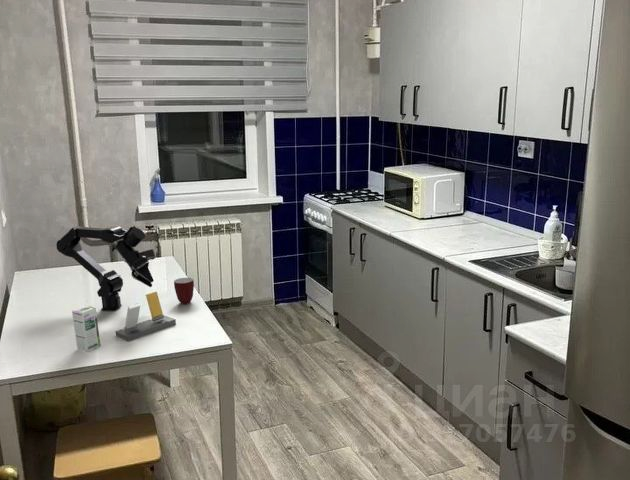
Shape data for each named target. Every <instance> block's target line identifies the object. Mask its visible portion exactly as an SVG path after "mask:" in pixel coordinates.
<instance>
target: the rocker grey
mask: <svg viewBox="0 0 630 480" xmlns="http://www.w3.org/2000/svg"><path fill="white" fill-rule="evenodd" d="M126 310H127V312H126V316H125V317H126V318H125V324H124V325H125V326H124V330H125V331H129V330H131V329H134V328H137V324H138V323H139V321H138V320H139V316H140V310H141V305H140V304H139V303H134V304H131V305H128V306H127V309H126Z"/></svg>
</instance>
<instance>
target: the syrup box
mask: <svg viewBox="0 0 630 480" xmlns="http://www.w3.org/2000/svg"><path fill="white" fill-rule="evenodd" d="M71 314H72V323H73V327H74V335H75V341H76V342H75V343H76V348H77V350H80V351H84V352H89V351H91V350H93V349H94V350H95V349H96V348H99V347H101V346H102V345H101V339H100V330H99V325H98V317H97V308H96V307H94V306H91V305H84V306H81V307H79V308H76V309H72V310H71Z"/></svg>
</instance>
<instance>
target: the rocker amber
mask: <svg viewBox="0 0 630 480" xmlns="http://www.w3.org/2000/svg"><path fill="white" fill-rule="evenodd" d="M145 297H146V301H147V304H148V305H147V306H148V309H149V311H150V316H151V319H152V321H153V322H154V321H157V320H160V319H163V318H164V315H165V314H164V313H163V310H162V306H161V302H160V299H159V295H158V292H157V291H154V292H151V293H146V294H145Z"/></svg>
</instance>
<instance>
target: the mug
mask: <svg viewBox="0 0 630 480" xmlns="http://www.w3.org/2000/svg"><path fill="white" fill-rule="evenodd" d="M173 287H174V291H175V295H176V298H177V300H178V302H179V303H180V304H181V305H189V304H191V302H192V299H193V297H194V289H195V288H194V287H195V283H194V279H193V278H191V277H180V278H177V279H174V281H173Z"/></svg>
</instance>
